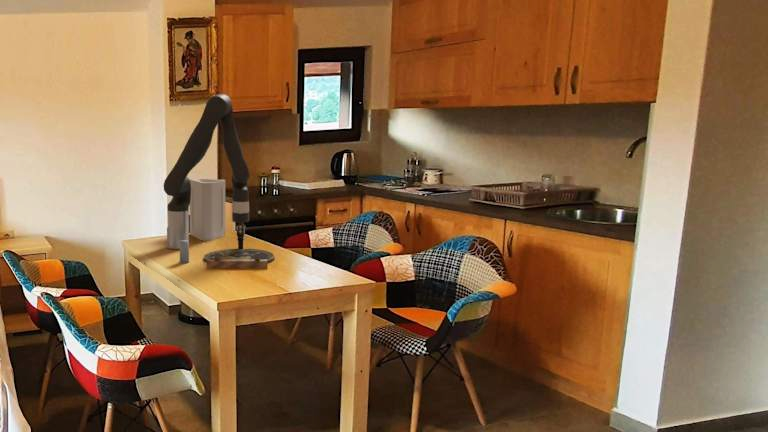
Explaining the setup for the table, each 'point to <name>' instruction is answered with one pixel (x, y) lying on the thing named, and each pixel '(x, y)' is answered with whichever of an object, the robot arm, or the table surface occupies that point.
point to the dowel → (184, 251)
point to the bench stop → (237, 262)
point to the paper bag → (207, 209)
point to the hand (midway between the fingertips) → (240, 248)
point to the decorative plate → (239, 254)
